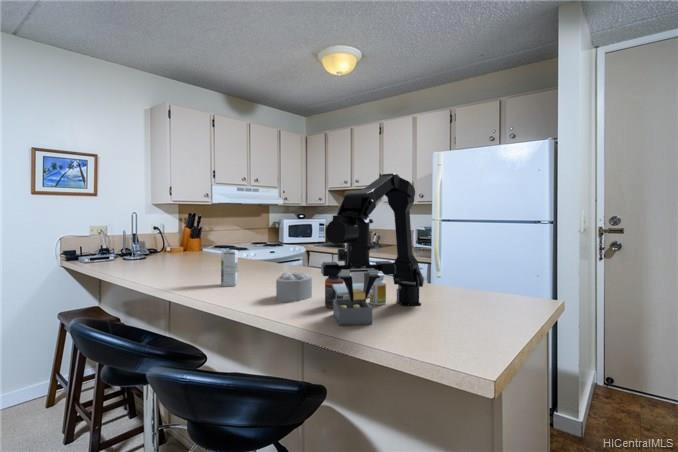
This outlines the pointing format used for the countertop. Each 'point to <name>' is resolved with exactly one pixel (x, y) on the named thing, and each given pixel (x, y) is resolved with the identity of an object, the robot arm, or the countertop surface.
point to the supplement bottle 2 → (378, 291)
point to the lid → (357, 290)
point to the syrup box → (229, 268)
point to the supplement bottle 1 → (331, 290)
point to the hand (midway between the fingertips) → (358, 301)
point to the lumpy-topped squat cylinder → (293, 287)
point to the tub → (352, 312)
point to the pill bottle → (358, 277)
